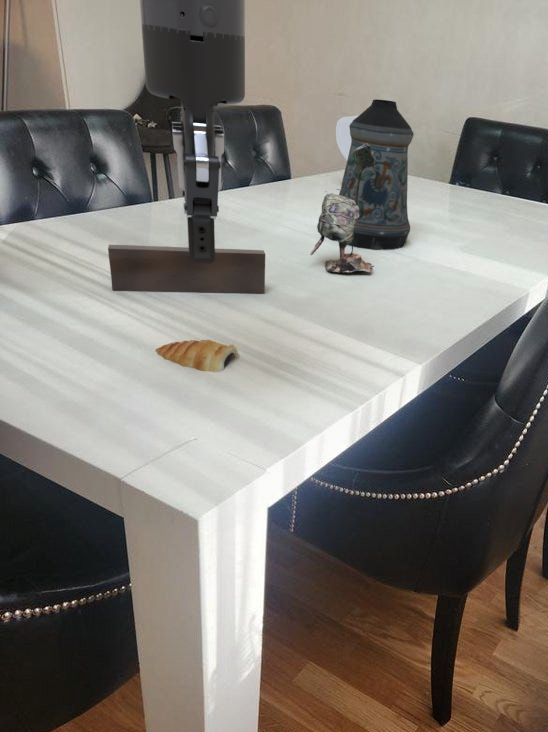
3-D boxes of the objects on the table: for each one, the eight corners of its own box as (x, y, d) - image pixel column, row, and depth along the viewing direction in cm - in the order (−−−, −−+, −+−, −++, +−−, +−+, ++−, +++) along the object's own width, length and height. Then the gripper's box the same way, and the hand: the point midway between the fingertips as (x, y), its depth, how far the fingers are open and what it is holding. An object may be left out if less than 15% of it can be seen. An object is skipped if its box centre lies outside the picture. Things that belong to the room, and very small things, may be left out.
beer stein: (336, 248, 126) (348, 100, 112) (321, 223, 142) (329, 91, 128) (417, 252, 130) (438, 110, 116) (393, 228, 145) (409, 100, 132)
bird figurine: (315, 258, 118) (323, 136, 107) (376, 267, 118) (390, 145, 107) (306, 270, 112) (313, 141, 101) (371, 279, 111) (385, 150, 100)
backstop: (112, 290, 94) (107, 248, 90) (113, 286, 95) (108, 244, 92) (264, 293, 99) (265, 253, 96) (262, 289, 101) (263, 250, 98)
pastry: (143, 373, 73) (141, 341, 71) (173, 352, 78) (172, 322, 76) (220, 390, 71) (220, 358, 69) (245, 368, 77) (246, 337, 75)
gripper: (142, 19, 52) (158, 239, 62) (139, 18, 42) (158, 283, 52) (236, 30, 54) (237, 242, 64) (255, 32, 44) (253, 285, 54)
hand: (202, 260), depth 58 cm, fingers closed
